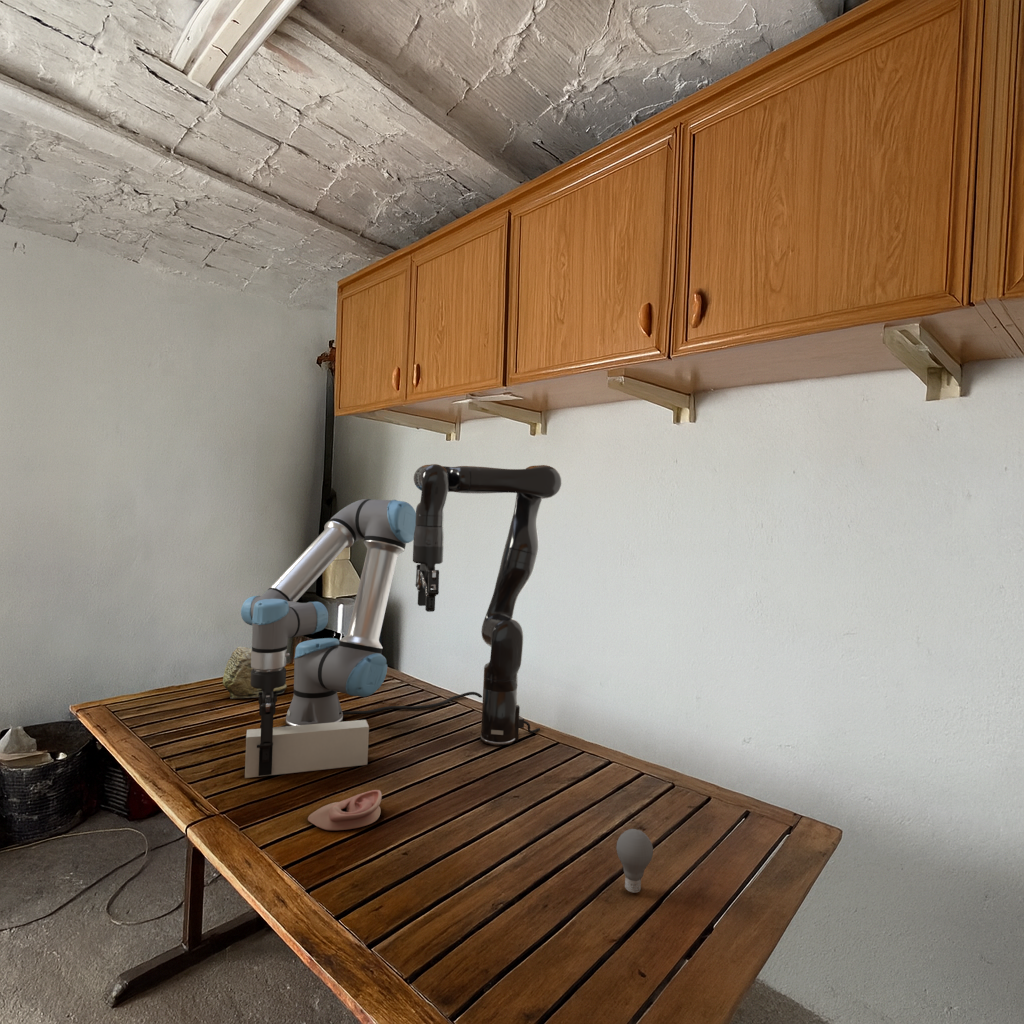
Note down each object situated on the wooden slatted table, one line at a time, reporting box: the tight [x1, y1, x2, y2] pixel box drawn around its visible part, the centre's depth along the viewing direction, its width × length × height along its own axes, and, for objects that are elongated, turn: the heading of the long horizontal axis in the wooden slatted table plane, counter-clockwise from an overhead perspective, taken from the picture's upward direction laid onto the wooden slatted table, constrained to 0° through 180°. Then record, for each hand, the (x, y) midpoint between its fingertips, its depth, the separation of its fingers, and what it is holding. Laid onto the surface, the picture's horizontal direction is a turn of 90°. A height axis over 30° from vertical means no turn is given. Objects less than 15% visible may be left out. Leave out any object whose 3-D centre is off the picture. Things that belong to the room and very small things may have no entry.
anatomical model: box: [307, 789, 383, 831], centre depth 126 cm, size 13×4×12 cm
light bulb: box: [615, 828, 654, 894], centre depth 106 cm, size 6×6×10 cm
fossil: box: [222, 646, 288, 699], centre depth 198 cm, size 9×18×15 cm, turn 132°
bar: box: [244, 719, 370, 779], centre depth 148 cm, size 27×5×9 cm, turn 111°
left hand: (265, 768), depth 145 cm, fingers open, 6 cm apart
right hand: (425, 608), depth 159 cm, fingers open, 8 cm apart
